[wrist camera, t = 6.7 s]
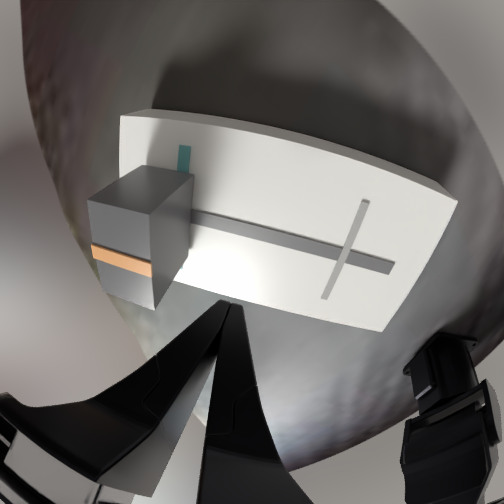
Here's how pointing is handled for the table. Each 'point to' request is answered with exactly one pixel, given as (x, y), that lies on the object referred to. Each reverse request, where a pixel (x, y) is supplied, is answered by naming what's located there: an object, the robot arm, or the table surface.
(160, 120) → the console
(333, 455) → the table surface
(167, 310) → the table surface
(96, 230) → the fader
